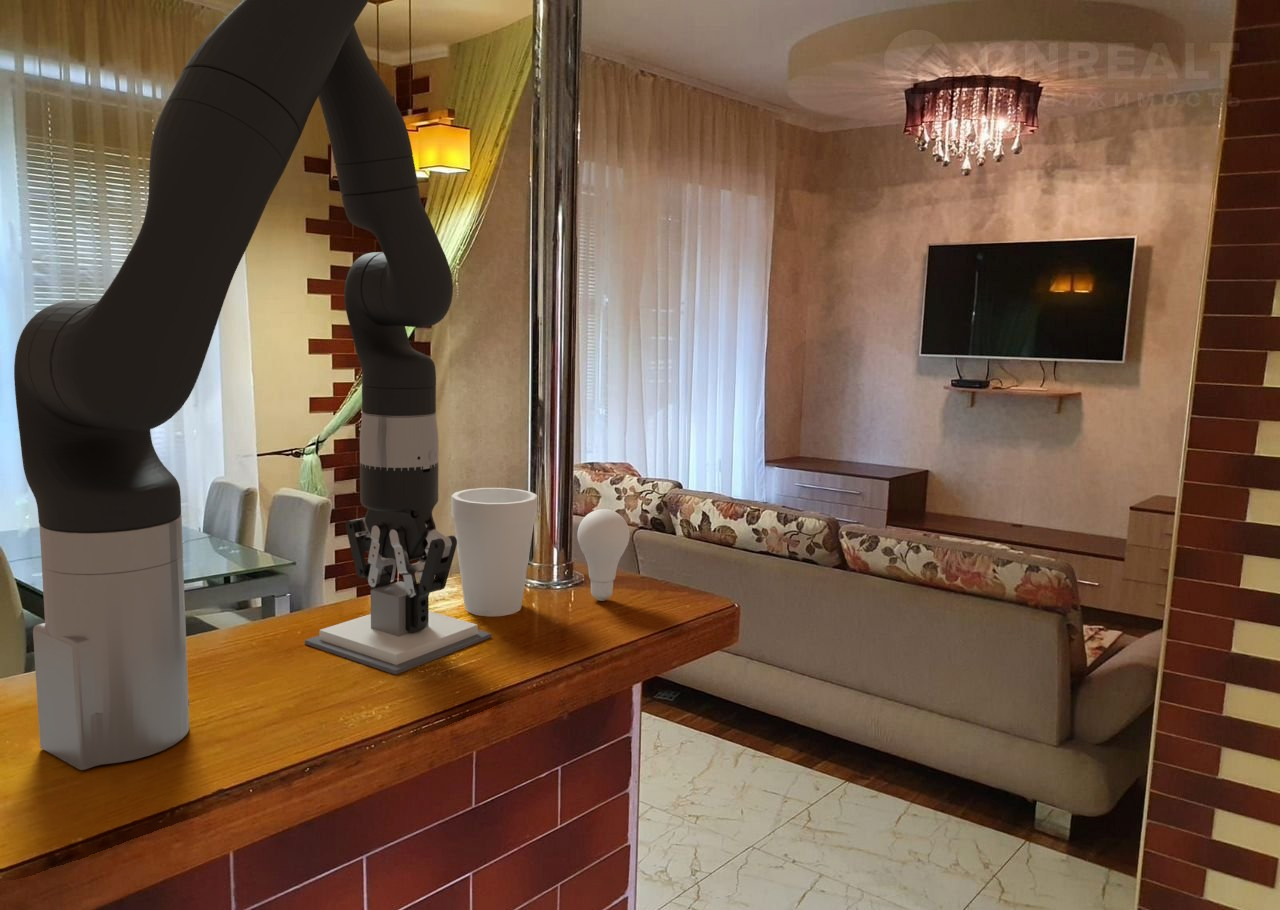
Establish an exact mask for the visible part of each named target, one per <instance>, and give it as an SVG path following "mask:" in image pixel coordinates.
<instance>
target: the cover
mask: <svg viewBox="0 0 1280 910" xmlns="http://www.w3.org/2000/svg"><path fill="white" fill-rule="evenodd" d="M407 596H408V595H407V593H406V589H405V583H404V581H400V580H399V581H397V582H393V583H391V584H389V585H386V586H382V587H379V588H375V589H372V588H371V589H370V613H369V614H367V615H363V616H359V617H357V618H353V619H349V620H347V621H344V622H340V623H337V624H334V625H330V626H327V627H324V628H321V629H319V632H318V633H319V635H320V640H322V641H325V642H328V643H331V644H334V645H337V646H341V647H344V648H347V649H350V650H353V651H356V652H359V653H362V654H365V655H368V656H371V657H374V658H377V659H380V660H383V661H386V662H389V663H392V664H395V665H398V664H400V663H403V662H405V661H408V660H411V659H413V658H416V657H419V656H421V655H424V654H426V653H429V652H432V651H434V650H437V649H440V648H442V647H445V646H447V645H450V644H453V643H455V642H458V641H461V640H463V639H466V638H468V637H471V636H474V635H476V634H478V630H479V629H478V627H479V625H478V624H477V623H473V622H470V621H466V620H462V619H458V618H454V617H452V616H448V615H444V614H441V613H437V612H433V611H430V610H429V608H430V607H429V601H430V600H429V597H428V623H427V625H426V627H425V628H424V629H423V630H420V631H417V632H415V633H411V632H408V631H406V597H407Z"/></svg>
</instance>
